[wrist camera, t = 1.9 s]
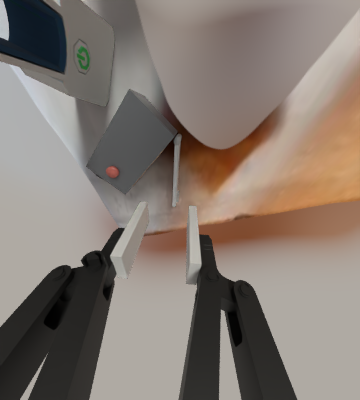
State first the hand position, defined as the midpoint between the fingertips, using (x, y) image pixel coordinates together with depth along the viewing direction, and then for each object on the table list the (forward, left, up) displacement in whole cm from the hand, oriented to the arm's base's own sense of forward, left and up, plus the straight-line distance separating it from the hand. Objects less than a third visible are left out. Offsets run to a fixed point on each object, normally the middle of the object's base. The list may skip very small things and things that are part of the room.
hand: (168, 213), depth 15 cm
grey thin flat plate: (+2, +2, -25) cm, 25 cm away
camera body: (+5, -10, -25) cm, 27 cm away
